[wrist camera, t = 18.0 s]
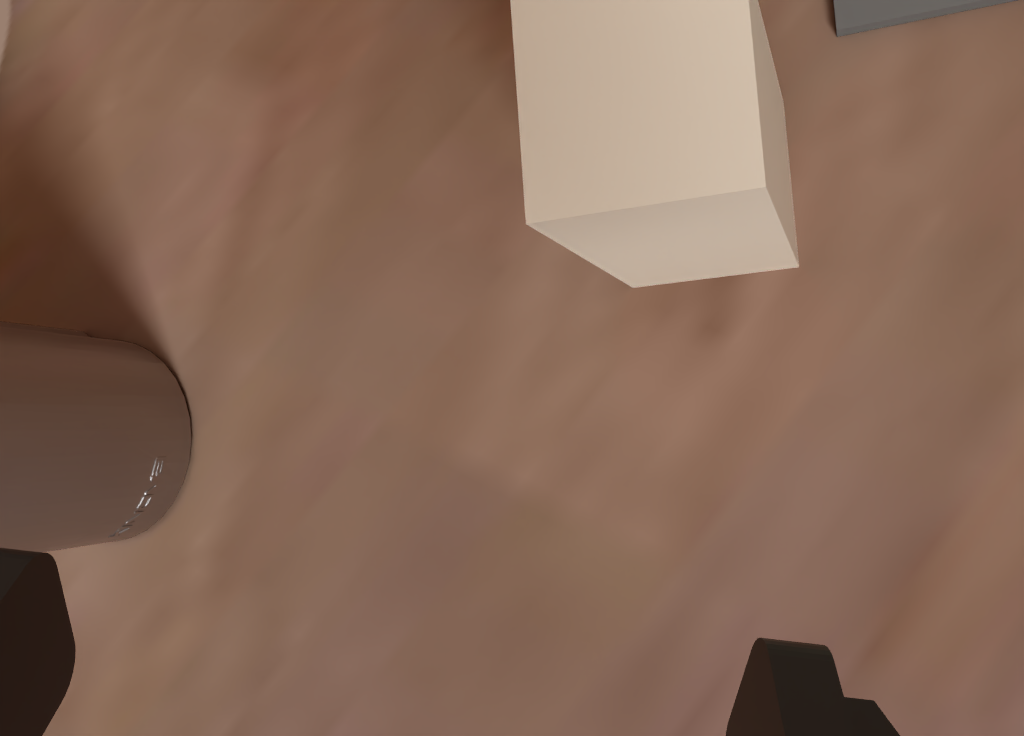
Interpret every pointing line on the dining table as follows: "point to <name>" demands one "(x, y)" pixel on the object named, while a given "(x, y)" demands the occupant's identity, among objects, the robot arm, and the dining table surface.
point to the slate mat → (896, 12)
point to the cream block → (654, 136)
